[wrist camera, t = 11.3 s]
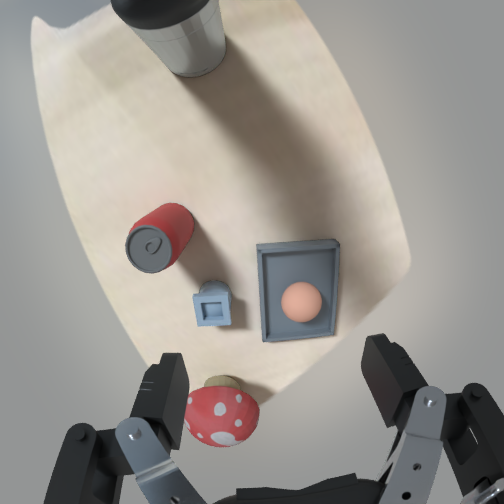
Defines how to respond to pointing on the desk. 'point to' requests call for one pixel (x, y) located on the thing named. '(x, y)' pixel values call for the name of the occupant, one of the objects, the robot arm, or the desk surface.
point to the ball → (301, 302)
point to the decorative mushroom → (221, 413)
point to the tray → (289, 272)
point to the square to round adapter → (213, 304)
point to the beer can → (159, 238)
